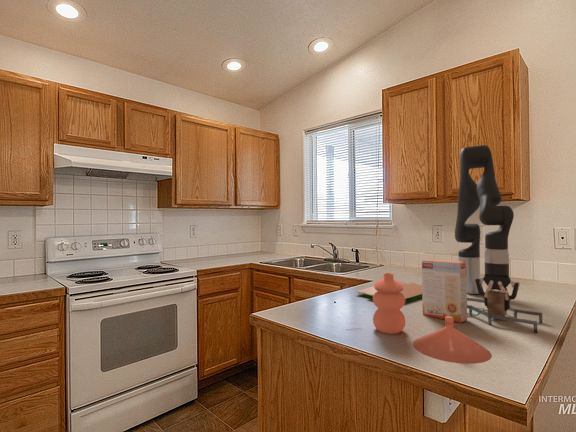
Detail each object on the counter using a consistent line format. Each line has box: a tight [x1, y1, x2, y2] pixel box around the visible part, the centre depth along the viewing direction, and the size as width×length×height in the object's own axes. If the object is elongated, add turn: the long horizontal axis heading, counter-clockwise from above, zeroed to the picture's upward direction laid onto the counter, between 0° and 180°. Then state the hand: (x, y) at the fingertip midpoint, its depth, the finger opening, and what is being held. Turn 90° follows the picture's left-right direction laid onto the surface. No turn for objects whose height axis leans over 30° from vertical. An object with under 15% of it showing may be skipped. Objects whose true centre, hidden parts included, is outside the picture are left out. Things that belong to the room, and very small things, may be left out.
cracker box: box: [421, 258, 468, 324], centre depth 126 cm, size 14×6×21 cm, turn 41°
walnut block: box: [487, 290, 508, 316], centre depth 124 cm, size 5×5×8 cm
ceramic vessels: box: [372, 272, 493, 365], centre depth 102 cm, size 35×21×19 cm, turn 39°
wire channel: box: [467, 297, 544, 334], centre depth 128 cm, size 32×22×4 cm
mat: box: [467, 307, 485, 316], centre depth 136 cm, size 10×11×1 cm
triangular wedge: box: [355, 281, 422, 304], centre depth 160 cm, size 23×33×8 cm
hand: (497, 308), depth 124 cm, fingers closed on walnut block, 5 cm apart
